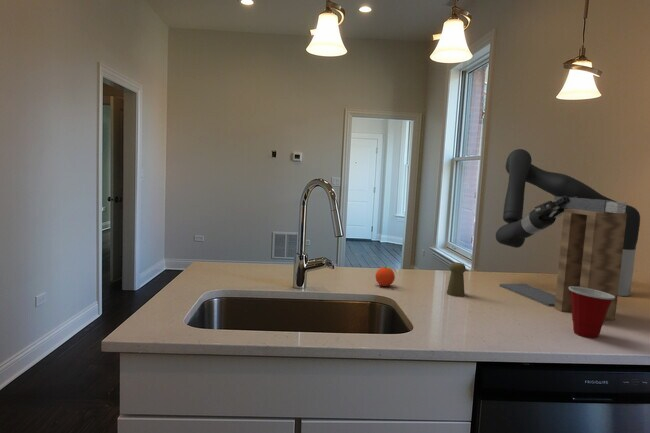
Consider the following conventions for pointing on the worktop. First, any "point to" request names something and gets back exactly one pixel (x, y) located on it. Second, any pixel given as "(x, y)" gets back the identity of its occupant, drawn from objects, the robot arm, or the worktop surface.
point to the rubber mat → (532, 293)
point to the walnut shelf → (590, 255)
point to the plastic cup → (589, 310)
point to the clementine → (385, 276)
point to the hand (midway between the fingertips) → (572, 198)
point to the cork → (456, 280)
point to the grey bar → (594, 205)
